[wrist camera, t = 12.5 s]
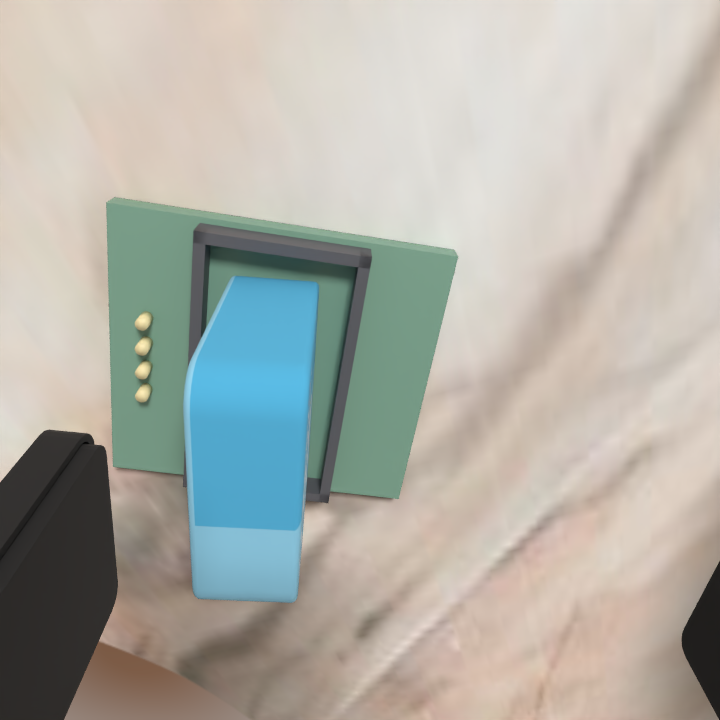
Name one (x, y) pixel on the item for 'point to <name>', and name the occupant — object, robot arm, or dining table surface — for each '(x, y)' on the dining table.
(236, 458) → the data package
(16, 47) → the dining table surface
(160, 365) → the circuit board
